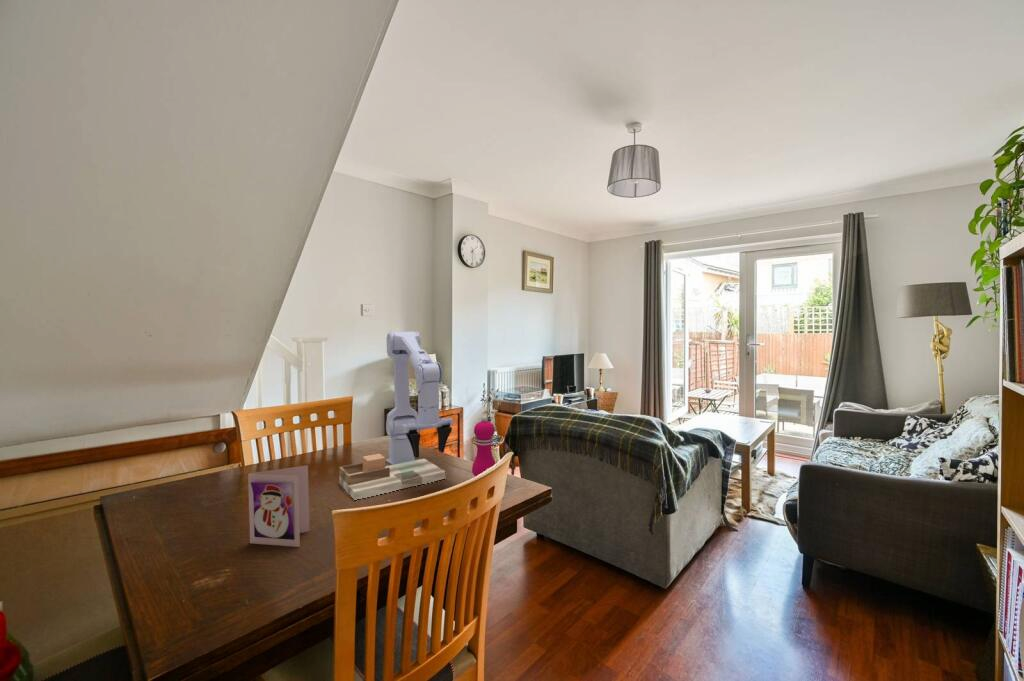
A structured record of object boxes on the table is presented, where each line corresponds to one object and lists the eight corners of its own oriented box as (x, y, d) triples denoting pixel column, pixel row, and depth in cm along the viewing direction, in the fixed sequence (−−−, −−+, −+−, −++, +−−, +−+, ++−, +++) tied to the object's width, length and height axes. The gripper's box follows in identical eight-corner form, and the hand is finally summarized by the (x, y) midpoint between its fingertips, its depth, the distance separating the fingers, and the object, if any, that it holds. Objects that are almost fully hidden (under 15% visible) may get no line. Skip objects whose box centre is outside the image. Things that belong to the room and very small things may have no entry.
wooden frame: (339, 475, 125) (339, 466, 125) (378, 467, 132) (378, 459, 132) (348, 485, 117) (348, 476, 117) (389, 476, 124) (389, 468, 124)
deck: (339, 483, 125) (339, 475, 125) (424, 466, 140) (424, 458, 140) (354, 501, 113) (354, 491, 113) (445, 479, 128) (445, 471, 128)
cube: (362, 473, 127) (362, 456, 126) (379, 469, 129) (379, 453, 129) (368, 478, 123) (367, 461, 122) (385, 474, 125) (385, 457, 125)
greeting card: (247, 545, 91) (245, 475, 90) (271, 528, 98) (269, 463, 97) (297, 549, 89) (295, 477, 88) (317, 531, 96) (316, 465, 96)
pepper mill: (498, 480, 128) (498, 413, 127) (495, 489, 121) (494, 418, 120) (474, 479, 128) (474, 413, 128) (469, 488, 121) (469, 418, 120)
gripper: (409, 411, 113) (410, 462, 113) (458, 405, 121) (458, 453, 122) (399, 407, 118) (400, 456, 119) (446, 401, 127) (447, 447, 127)
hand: (428, 454), depth 121 cm, fingers open, 7 cm apart
